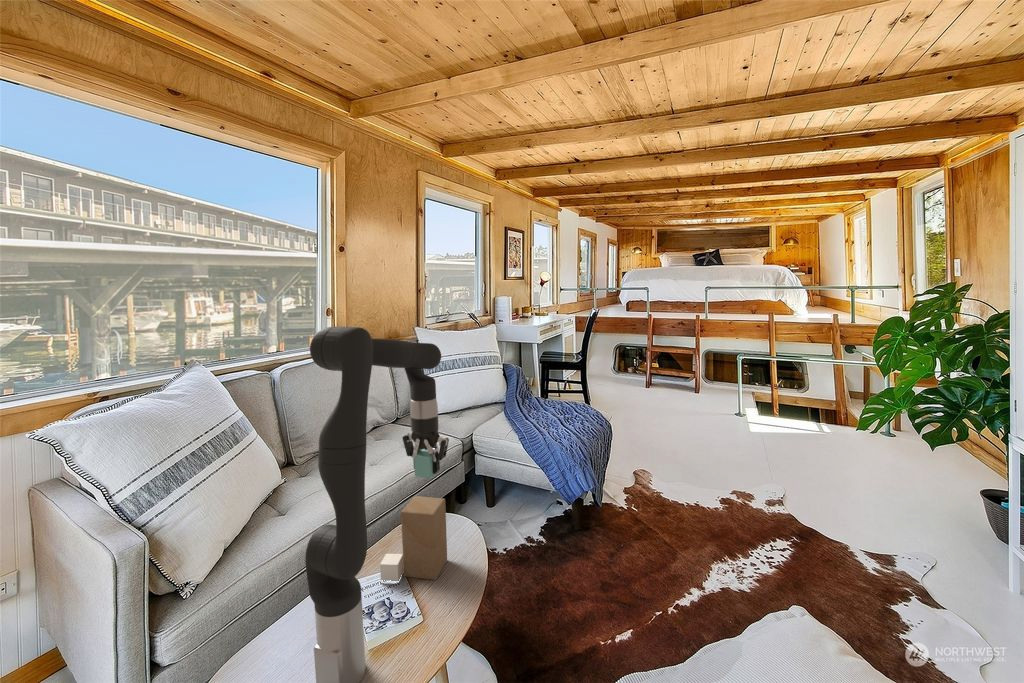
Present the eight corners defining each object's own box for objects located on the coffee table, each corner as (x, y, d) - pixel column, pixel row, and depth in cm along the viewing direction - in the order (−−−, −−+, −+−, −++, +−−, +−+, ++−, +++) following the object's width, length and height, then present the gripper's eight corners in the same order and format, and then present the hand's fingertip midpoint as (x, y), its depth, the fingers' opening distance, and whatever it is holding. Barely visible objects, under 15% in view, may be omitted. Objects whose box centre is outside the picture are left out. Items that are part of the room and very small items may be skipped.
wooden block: (435, 581, 125) (433, 514, 123) (403, 576, 127) (400, 511, 125) (447, 559, 135) (445, 498, 132) (417, 556, 137) (414, 495, 134)
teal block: (430, 478, 122) (429, 457, 121) (414, 476, 124) (413, 455, 123) (439, 471, 127) (438, 451, 126) (424, 468, 128) (423, 449, 128)
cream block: (398, 584, 124) (397, 564, 123) (381, 584, 124) (380, 564, 123) (403, 573, 129) (402, 554, 128) (386, 572, 129) (386, 553, 128)
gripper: (394, 415, 122) (397, 473, 124) (440, 420, 117) (443, 480, 119) (409, 408, 129) (412, 463, 131) (453, 412, 124) (455, 469, 126)
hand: (427, 471), depth 125 cm, fingers closed on teal block, 5 cm apart
